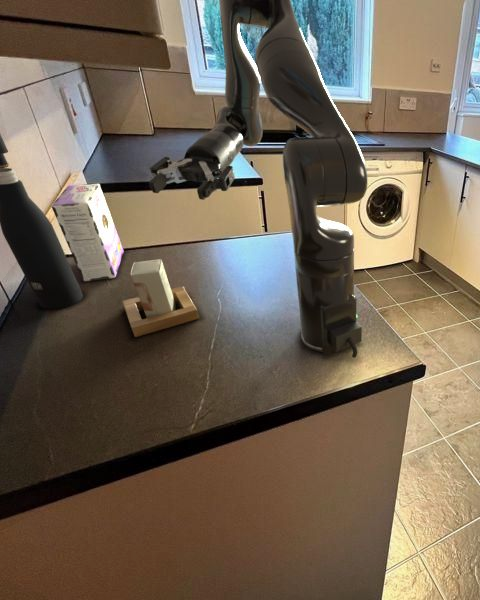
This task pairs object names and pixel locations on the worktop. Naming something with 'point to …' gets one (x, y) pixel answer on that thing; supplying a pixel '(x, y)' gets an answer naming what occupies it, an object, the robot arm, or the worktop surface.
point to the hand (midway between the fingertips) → (176, 192)
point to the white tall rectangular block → (153, 287)
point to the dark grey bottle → (34, 243)
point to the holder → (161, 320)
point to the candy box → (89, 231)
